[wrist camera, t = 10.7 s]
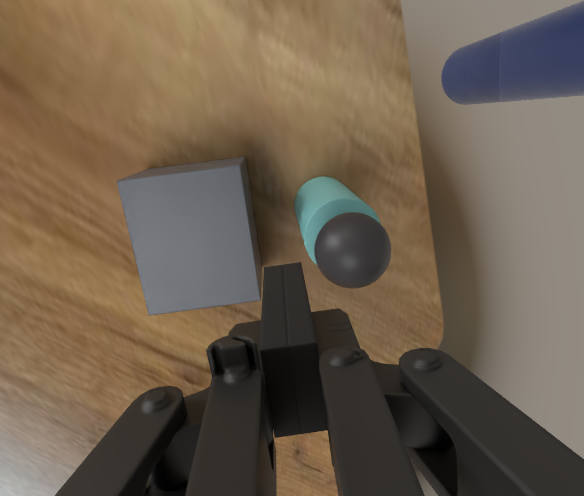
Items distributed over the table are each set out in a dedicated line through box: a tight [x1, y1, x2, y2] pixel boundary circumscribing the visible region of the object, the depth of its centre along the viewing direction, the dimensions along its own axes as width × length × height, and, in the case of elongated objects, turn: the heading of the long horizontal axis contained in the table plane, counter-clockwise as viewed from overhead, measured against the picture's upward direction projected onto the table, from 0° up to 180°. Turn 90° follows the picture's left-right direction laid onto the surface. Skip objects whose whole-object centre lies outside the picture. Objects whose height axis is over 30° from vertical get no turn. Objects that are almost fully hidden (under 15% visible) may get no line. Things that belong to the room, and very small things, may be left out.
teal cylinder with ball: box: [294, 176, 391, 288], centre depth 37 cm, size 12×6×19 cm, turn 96°
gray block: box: [117, 156, 262, 315], centre depth 41 cm, size 10×12×9 cm
